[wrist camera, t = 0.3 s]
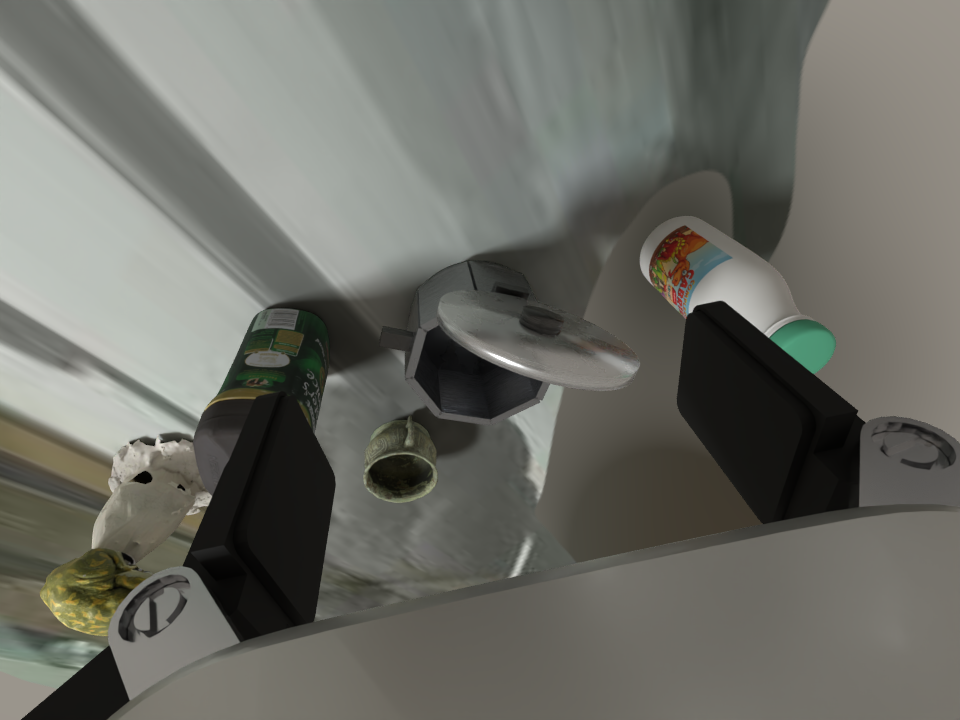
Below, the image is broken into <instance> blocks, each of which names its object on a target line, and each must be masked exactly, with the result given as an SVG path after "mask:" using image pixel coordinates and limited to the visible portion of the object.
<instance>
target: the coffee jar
mask: <svg viewBox="0 0 960 720" xmlns="http://www.w3.org/2000/svg"><path fill="white" fill-rule="evenodd" d="M329 360H330V345H329V337H328V332H327V328H326V326H325V324H324V323H323V321H322V320H321V319H320V318H319V317H317V316H316V315H314V314H312V313H309V312H306V311H303V310H298V309H291V308H273V309H267V310H263V311H261V312H260V313H258V314H257V315H256V316H255V317H254V318H253V320H252V322H251V324H250V326H249V328H248V330H247V333H246V335H245V337H244V339H243V342H242V344H241V346H240V349H239V351H238V353H237V355H236V357H235V359H234V362H233V364H232V366H231V368H230V370H229V372H228V374H227V376H226V379H225V381H224V383H223V385H222V387H221V389H220V391H219V392H218V394H217V396H216V397H215V398H214V399H213V400H212V401H211V402H210V403H209V404H208V406H207V407H206V409H205V410H204V412H203V414H202V416H201V419H200V421H199V424H198V427H197V430H196V432H195V435H194V440H193V446H194V452H195V458H196V463H197V467H198V471H199V474H200V477H201V480H202V483H203V485H204V487H205V489H206V490H207V491H208V493H209V494H210V495H211V496H213V493H214V491H215V489H216V486H217V484H218V481H219V479H220V477H221V474H222V472H223V470H224V467H225V466H226V464H227V462H228V461H229V459H230V457H231V454H232V452H233V450H234V447H235V445H236V442H237V440H238V438H239V435H240V433H241V431H242V428H243V426H244V423H245V421H246V419H247V416H248V414H249V412H250V409H251V407H252V404H253V402H254V400H255V398H256V397H257V396H260V395H264V394H269V393H274V392H279V391H284V392H285V393H286V394H287V395H288V396H290V395H293V396H295V397H296V399H297V401H298V403H299V405H300V407H301V409H302V411H303V413H304V415H305V417H306V419H307V421H308V423H309V425H310V427H311V429H312V431H313V433H315V429H316V424H317V420H318V415H319V411H320V406H321V401H322V396H323V392H324V387H325V383H326V379H327V374H328V368H329Z"/></svg>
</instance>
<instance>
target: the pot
mask: <svg viewBox="0 0 960 720" xmlns="http://www.w3.org/2000/svg"><path fill="white" fill-rule="evenodd" d="M460 290H478V291H488V292H495V293H501V294H506V295H511V296H516V297H520V298H524V299H528V300H531V301H535V302H537V300H536V298H535V296H534V294H533V292H532V290H531V288H530V286H529V285H528V283H527V281H526V279H525V277H524V275H522V273H519V272H515V271H512V270H511V269H509V268H507V267H505V266H503V265H500V264H496V263H493V262H487V261H470V260H469V261H468V262H467V261H465V262H462V263H458V264H455V265H452V266H449V267H447V268H445V269H443V270H441V271H439V272H438V273H436V274H435V275H433V276H432V277H431V278H430V279H429V280H427V281H426V283H425V284H424V285H422V286H420V287H418V290H416V294H415V298H414V300H413V303H412V306H411V309H410V315H409V322H408V326H407V329H406V330H401V329H396V328H390V327H385V326H383V328H382V332H381V337H380V343H379V346H380V347H386V348H391V349H397V350H402V351H405V380H406V381H407V383H408V384H409V385H410V386H411V387H412V389H413V390H414V391H415V392H416V394H417V395H418V396H419V397H420V398H421V400H422V401H423V402H424V403H425V404H426V406H427V407H428V408H429V409H430V411H431V412H432V413H433V414H434V415H435V417H436V416H438V418H441V419H448V420H455V421H462V422H469V423H476V424H483V425H490V423H491V424H492V425H493V424H496V423H498V422H500V421H502V420H504V419H506V418H508V417H510V416H512V415H514V414H517V413H519V412H521V411H523V410H525V409H527V408H529V407H531V406H533V405H535V404H538V403H540V400H543V398H544V396H545V393H546V391H547V389H548V387H549V385H550V383H547V382H543V381H539V380H536V379H533V378H530V377H526V376H523V375H521V374H518V373H515V372H512V371H510V370H507V369H505V368H502V367H500V366H498V365H495V364H493V363H491V362H489V361H487V360H485V359H483V358H481V357H479V356H477V355H475V354H474V353H472V352H470V351H468V350H467V349H465V348H464V347H462V346H461V345H459V344H458V343H456V342H455V341H454V340H453V339H451V338H450V337H449V336H448V335H447V334H446V333H445V332H444V331H443V330H442V329H441V327H440V326H439V324H438V322H437V320H436V314H437V310H438V306H439V302H440V299H441V297H442V296H443V295H445V294H447V293H450V292H453V291H460Z"/></svg>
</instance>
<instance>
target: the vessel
mask: <svg viewBox="0 0 960 720" xmlns="http://www.w3.org/2000/svg"><path fill="white" fill-rule="evenodd" d="M436 455H437V451H436V448H435V446H434V444H433V442H432V440H431V437H430V435H429V433H428V431H427V430H426V429H425V428H424V427H423V426H422V425H420V424H418V423H416V422H414V421H412V416H409V417H408V420H395V421H391V422H388V423H385V424H383V425H382V426H380V427H379V428H377V429H376V430H375V431H374V433H373V434H372V436H371V442H370V444H369V445H368V447H367V448H366V450H365V464H364V466H365V468H366V469H365V472H364V476H363V478H364V485H365V487H366V488H367V489H368V491H369V492H370V493H372V494H373V495H375V496H376V497H378V498H380V499H382V500H385V501H389V502H396V503H401V502H409V501H413V500H415V499H418V498H421V497H423V496H425V495H426V494H428V493H429V492H431V490H432V489H433V488H434V487H435V486H436V484H437V481H438V471H437V469H436V467H435V465H436Z"/></svg>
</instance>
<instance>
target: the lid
mask: <svg viewBox="0 0 960 720" xmlns="http://www.w3.org/2000/svg"><path fill="white" fill-rule="evenodd" d="M436 320H437V322H438V324H439V326H440V327H441V329H442V330H443V331H444V332H445V333H446V334H447V335H448V336H449V337H450V338H451V339H453V340H454V341H455V342H456V343H458V344H459V345H461V346H462V347H464V348H465V349H467V350H468V351H470V352H472V353H474V354H475V355H477V356H479V357H481V358H483V359H485V360H487V361H489V362H491V363H493V364H495V365H498V366H500V367H502V368H505V369H507V370H510V371H512V372H515V373H518V374H521V375H523V376H526V377H530V378H533V379H536V380H539V381H543V382H547V383H551V384H554V385H559V386H564V387H569V388H575V389H582V390H593V391H610V390H618V389H621V388H625V387H626V386H628V385H630V384H631V382H632V381H633V379H634V377H635V375H636V372H637V370H638V368H639V365H640V363H639V359H638V357H637V355H636V354H635V353H634V352H633V350H632V349H631V348H629V347H628V346H627V345H626V344H625V343H623V342H622V341H621V340H619V339H618V338H617V337H615V336H614V335H612V334H610V333H609V332H607V331H605V330H603V329H602V328H600V327H598V326H596V325H594V324H592V323H590V322H588V321H586V320H584V319H581V318H579V317H577V316H574V315H572V314H569V313H567V312H564V311H562V310H559V309H556V308H553V307H551V306H548V305H544V304H541V303H538V302H535V301H531V300H528V299H524V298H520V297H516V296H511V295H506V294H501V293H495V292H488V291H478V290H460V291H453V292H450V293H447V294H445V295H443V296H442V297H441V299H440V302H439V306H438V310H437V314H436Z"/></svg>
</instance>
